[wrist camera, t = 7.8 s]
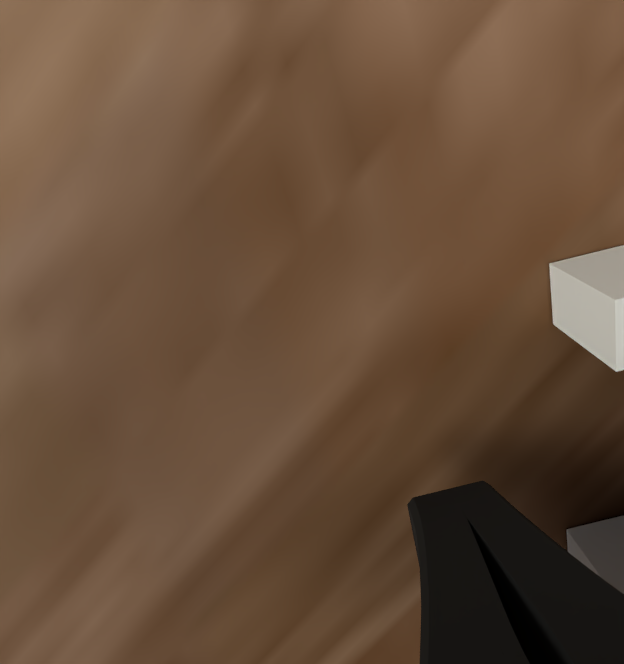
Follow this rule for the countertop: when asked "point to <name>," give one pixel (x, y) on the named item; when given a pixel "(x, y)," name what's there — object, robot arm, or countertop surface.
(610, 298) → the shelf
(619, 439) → the countertop surface
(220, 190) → the countertop surface
